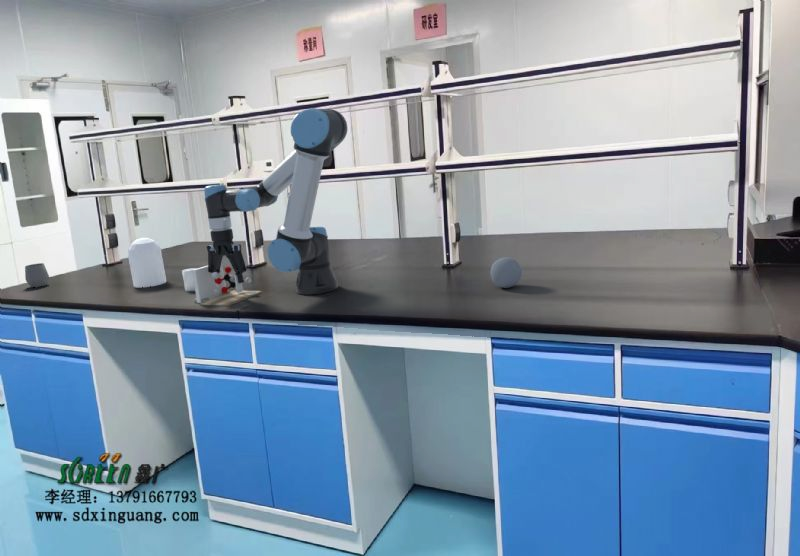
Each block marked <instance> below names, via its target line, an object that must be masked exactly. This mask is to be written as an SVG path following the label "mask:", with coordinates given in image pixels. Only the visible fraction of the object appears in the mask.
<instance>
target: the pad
mask: <svg viewBox="0 0 800 556" xmlns="http://www.w3.org/2000/svg"><path fill="white" fill-rule="evenodd" d="M262 292H263V291H262V290H243V291H242V292H240V293H237V292H236V290H235V289H234V290H231V291H230V292H228V293H226V294H223V295H220V296H218V297H215V298H212V299H210V300H207V301H204V302H202V303H199V304H200V306H217V307H218V306H223V307H230V306H233V305H236V304H237V303H239V302H242V301H244V300H247V299H249V298H251V297H255V296H257V295H259V294H260V295H261V294H262Z"/></svg>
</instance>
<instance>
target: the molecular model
mask: <svg viewBox="0 0 800 556" xmlns="http://www.w3.org/2000/svg"><path fill="white" fill-rule="evenodd" d="M231 272H232V268H231V267H230V266H225V268H224V273H225V274H224V278H222V279H220V278H218V276H219V274H218V273H217V272H214V273H213V274H212V277H213V278H215V279H216V280H215V282H216V284H221V282H222V281H223V280H225V282H228V283H229V286H226V287H223V288H222V289H219V288H215V289H214V293H215V294H219V293H220V292H221V291H222V292H223V293H226V292H227V291H228V290H230V289H234V290H236V284H235V277H234V275H235V274H230V273H231ZM251 282H252V278H251V277H246V278H245V279H243V283H246V284H250V283H251ZM236 292H237V290H236Z"/></svg>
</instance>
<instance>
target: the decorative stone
mask: <svg viewBox="0 0 800 556" xmlns="http://www.w3.org/2000/svg"><path fill="white" fill-rule="evenodd" d="M489 271H490V278H491V280H492V282H493V283H494V285H496V286H497V287H500V288H504V289H509V288H512V287H514V286H515V285H517V284H518V283H519V281H520V280H521V277H522V267H521V265H520V264H519V263H518V261H517V260H515V259H514V258H511V257H507V256H504V257H501V258H498V259H496V260H495V261H494V262H493V263H492V265H491V267H490V270H489Z"/></svg>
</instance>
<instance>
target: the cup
mask: <svg viewBox="0 0 800 556" xmlns="http://www.w3.org/2000/svg"><path fill="white" fill-rule="evenodd" d="M24 271H25V274H24V276H25V277H24V278H25V282H26V283H27V284H28V285H29V287H30V288H33V287H35V288H42V287H45V286H47V284H48V282H49V280H50V275H49V272H48V270H47V268H46V266H45V263H43V262H42V263H33V264H29V265H27V264H26V265H25V267H24ZM41 286H42V287H41Z"/></svg>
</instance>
